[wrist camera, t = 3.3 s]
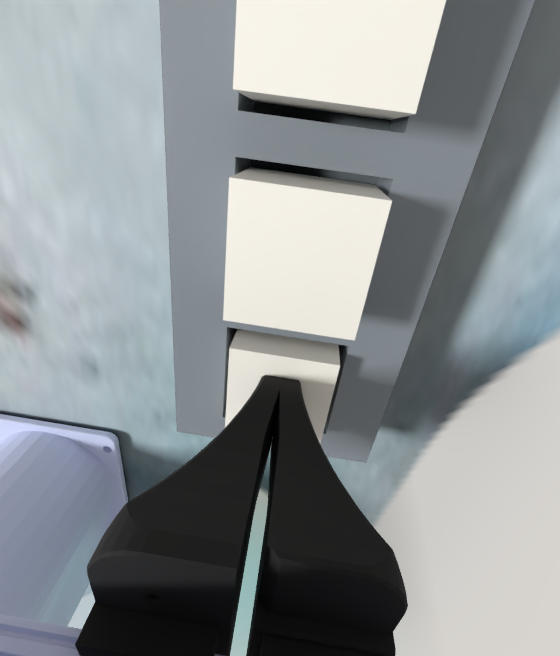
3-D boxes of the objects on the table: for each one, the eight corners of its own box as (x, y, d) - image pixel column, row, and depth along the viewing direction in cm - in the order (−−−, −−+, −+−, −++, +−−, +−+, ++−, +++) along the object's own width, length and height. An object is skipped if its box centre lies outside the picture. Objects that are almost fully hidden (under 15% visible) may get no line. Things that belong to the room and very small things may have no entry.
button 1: (320, 393, 16) (320, 443, 13) (240, 381, 16) (225, 428, 14) (336, 323, 14) (340, 365, 12) (245, 309, 14) (229, 348, 12)
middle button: (347, 297, 12) (354, 340, 10) (243, 281, 12) (222, 319, 10) (374, 184, 10) (392, 200, 8) (251, 167, 11) (229, 177, 8)
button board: (360, 421, 17) (366, 462, 15) (194, 394, 17) (176, 431, 15) (537, -127, 8) (615, -222, 6) (192, -167, 8) (148, -272, 6)
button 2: (389, 119, 10) (415, 113, 7) (256, 101, 10) (233, 89, 7) (435, -76, 8) (495, -183, 5) (270, -96, 8) (245, -210, 5)
